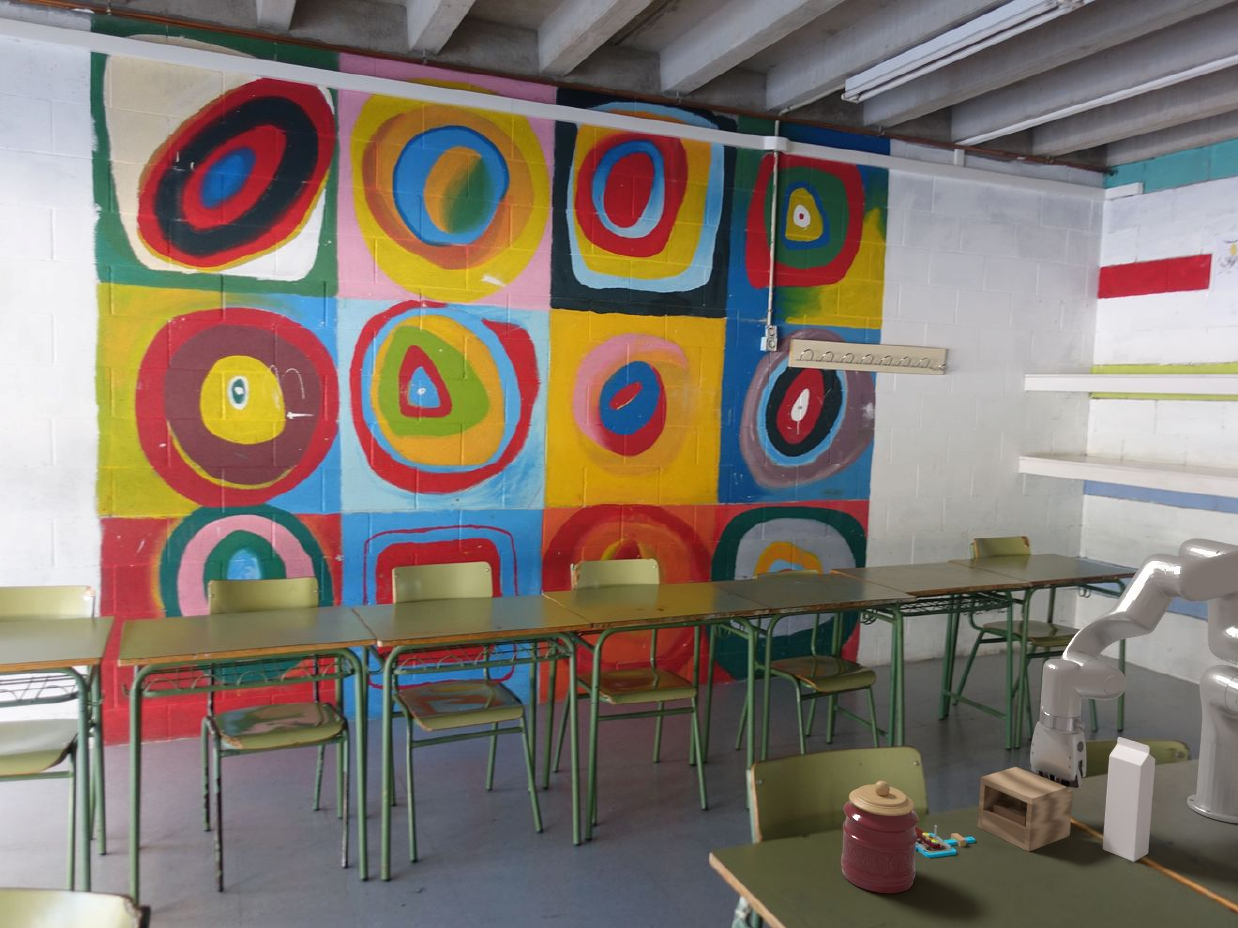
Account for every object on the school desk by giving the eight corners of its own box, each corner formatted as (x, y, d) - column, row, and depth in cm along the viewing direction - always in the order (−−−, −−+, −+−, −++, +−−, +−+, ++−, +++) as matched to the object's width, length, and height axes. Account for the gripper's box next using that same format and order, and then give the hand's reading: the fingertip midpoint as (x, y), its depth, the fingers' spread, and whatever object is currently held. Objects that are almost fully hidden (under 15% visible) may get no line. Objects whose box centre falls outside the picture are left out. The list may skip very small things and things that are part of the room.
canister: (825, 865, 172) (830, 772, 171) (882, 853, 178) (887, 763, 176) (871, 900, 161) (876, 801, 159) (930, 887, 166) (936, 790, 164)
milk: (1133, 862, 178) (1142, 749, 176) (1101, 849, 183) (1109, 739, 181) (1148, 853, 181) (1157, 743, 180) (1116, 840, 186) (1124, 733, 184)
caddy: (1034, 816, 196) (1036, 779, 196) (1065, 829, 190) (1068, 791, 190) (991, 830, 189) (994, 792, 188) (1023, 845, 183) (1025, 805, 182)
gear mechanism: (869, 841, 183) (897, 865, 174) (870, 815, 183) (898, 837, 174) (955, 830, 189) (986, 852, 181) (957, 804, 189) (988, 825, 180)
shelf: (1018, 813, 197) (1021, 764, 197) (1069, 835, 188) (1073, 784, 187) (977, 827, 190) (980, 776, 189) (1028, 851, 180) (1032, 798, 180)
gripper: (1105, 728, 188) (1099, 817, 190) (1037, 706, 201) (1032, 789, 202) (1083, 735, 184) (1077, 825, 186) (1016, 712, 197) (1010, 796, 198)
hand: (1053, 806), depth 194 cm, fingers closed
